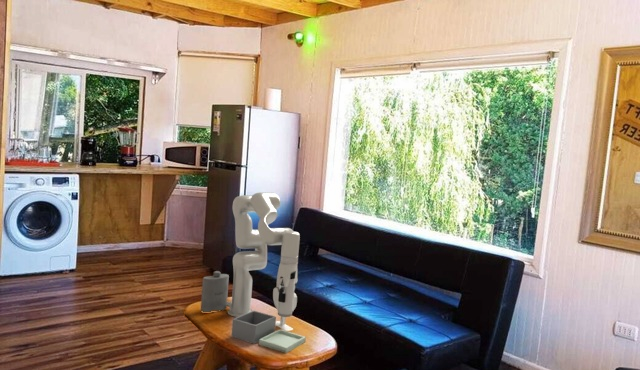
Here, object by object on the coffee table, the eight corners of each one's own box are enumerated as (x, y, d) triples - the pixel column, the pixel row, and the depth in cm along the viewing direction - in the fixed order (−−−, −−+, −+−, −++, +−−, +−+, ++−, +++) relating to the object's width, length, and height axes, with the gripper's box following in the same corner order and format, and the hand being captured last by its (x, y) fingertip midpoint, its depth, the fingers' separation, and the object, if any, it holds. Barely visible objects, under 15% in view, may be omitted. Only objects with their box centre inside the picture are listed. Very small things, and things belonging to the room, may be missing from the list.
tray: (258, 344, 217) (259, 339, 217) (279, 333, 231) (279, 329, 231) (286, 353, 210) (286, 348, 210) (305, 341, 224) (305, 336, 224)
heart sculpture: (295, 330, 237) (299, 293, 236) (287, 332, 234) (290, 294, 233) (278, 319, 249) (280, 284, 248) (269, 321, 246) (272, 285, 245)
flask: (205, 314, 247) (208, 275, 246) (198, 311, 251) (201, 272, 250) (229, 309, 259) (232, 271, 257) (222, 306, 263) (225, 268, 261)
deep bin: (231, 336, 223) (232, 319, 222) (252, 327, 236) (253, 310, 236) (254, 343, 217) (255, 325, 216) (274, 333, 231) (276, 316, 230)
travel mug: (294, 313, 222) (298, 269, 220) (288, 318, 215) (292, 272, 214) (281, 311, 224) (285, 267, 222) (275, 315, 217) (279, 270, 216)
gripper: (292, 255, 227) (289, 294, 228) (270, 261, 212) (267, 302, 213) (306, 258, 223) (303, 297, 225) (285, 264, 208) (282, 306, 210)
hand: (286, 299), depth 219 cm, fingers closed on travel mug, 6 cm apart
